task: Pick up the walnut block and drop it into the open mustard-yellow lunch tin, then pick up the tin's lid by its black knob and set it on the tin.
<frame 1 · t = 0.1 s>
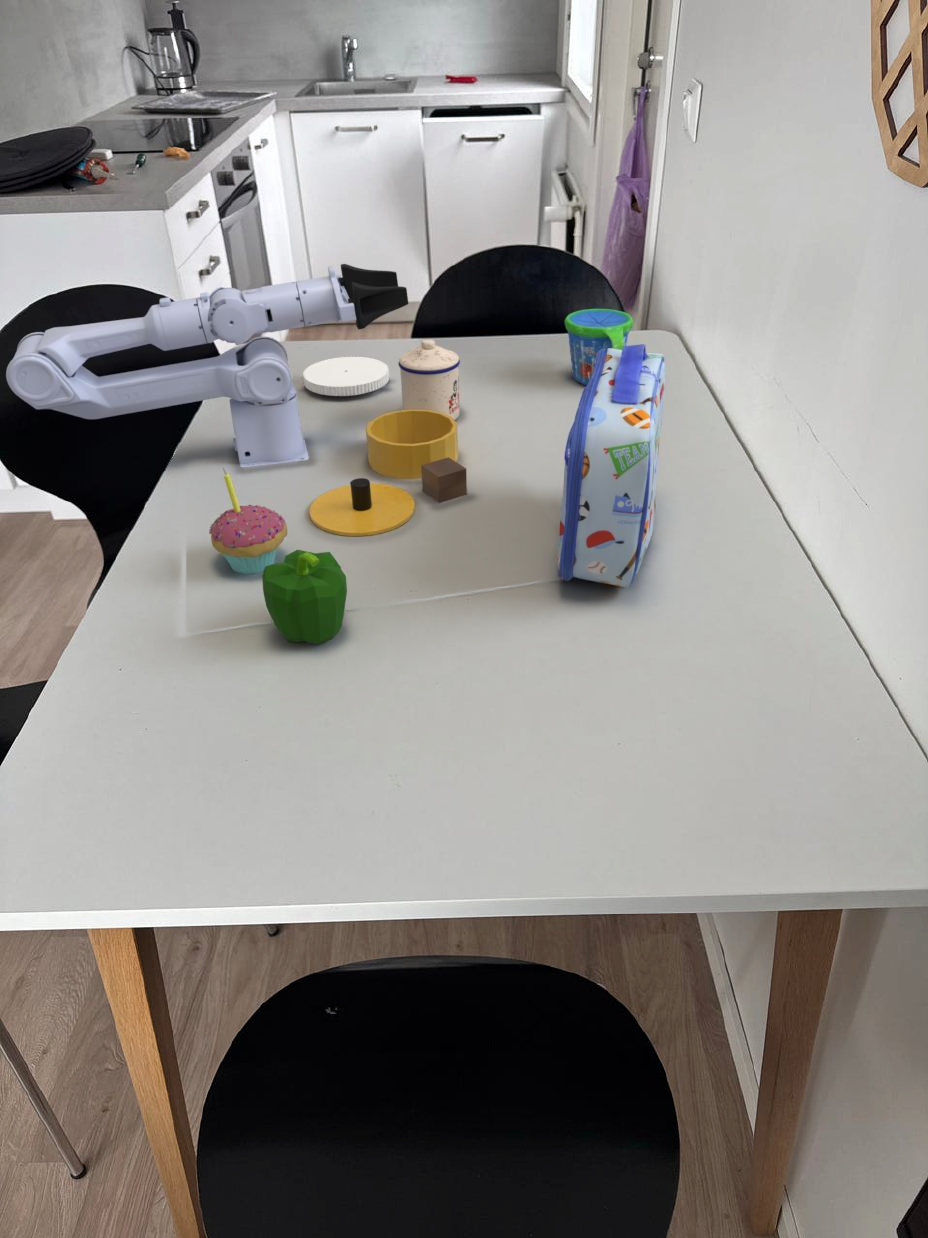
hand: (402, 287, 126), 22 cm above the table, tool horizontal, fingers open, 7 cm apart
plastic lid: (347, 387, 156), on the table
walnut block: (444, 496, 123), on the table
tin lid: (362, 510, 119), point 1 cm above the table
lunch box: (607, 544, 112), on the table
snack cup: (595, 380, 156), on the table
bell pepper: (311, 633, 99), on the table
tin: (413, 462, 131), on the table
cupcake: (254, 567, 110), on the table
teacup with lid: (431, 413, 146), on the table
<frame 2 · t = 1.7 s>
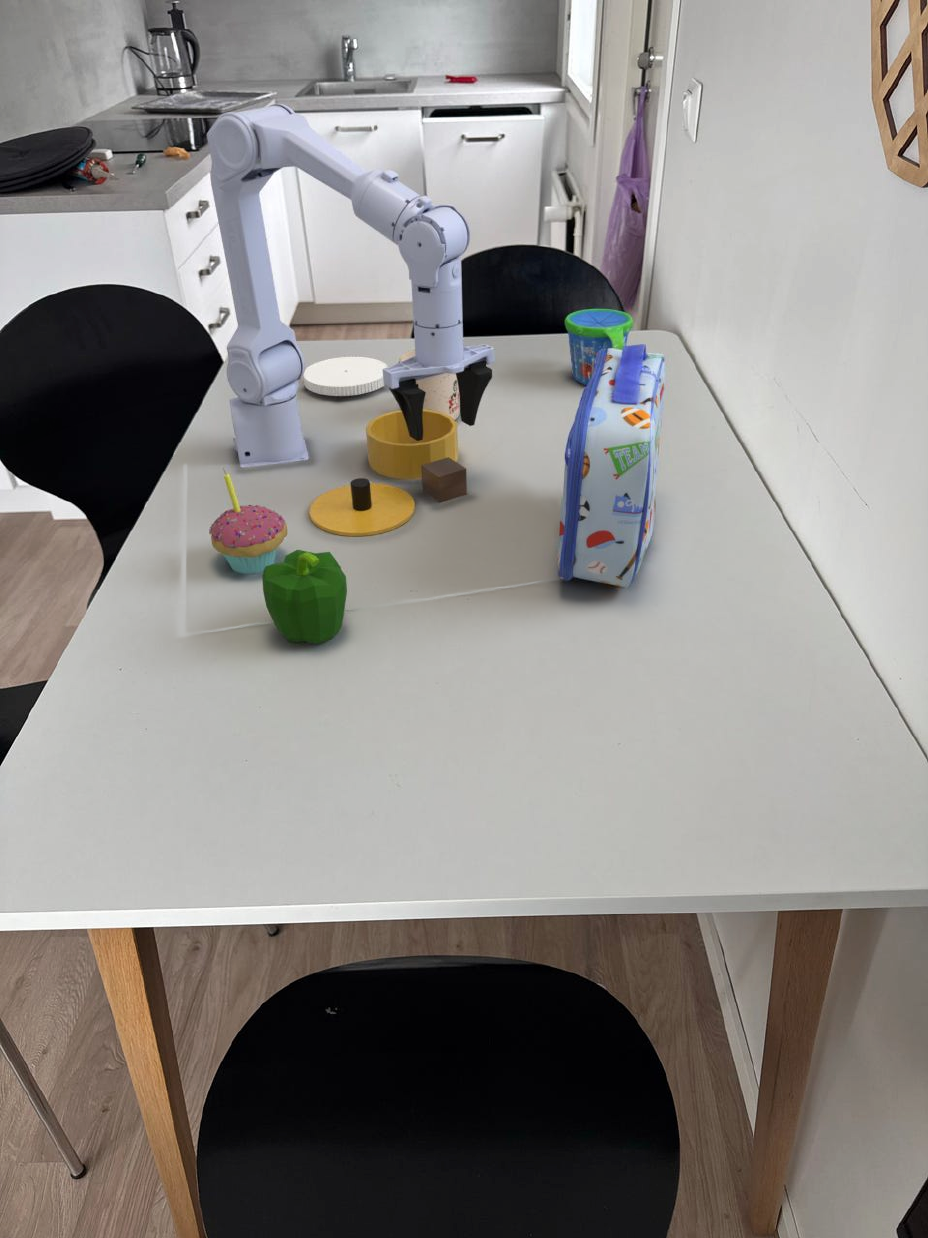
hand: (442, 430, 118), 9 cm above the table, tool pointing down, fingers open, 7 cm apart
nothing on the table moved.
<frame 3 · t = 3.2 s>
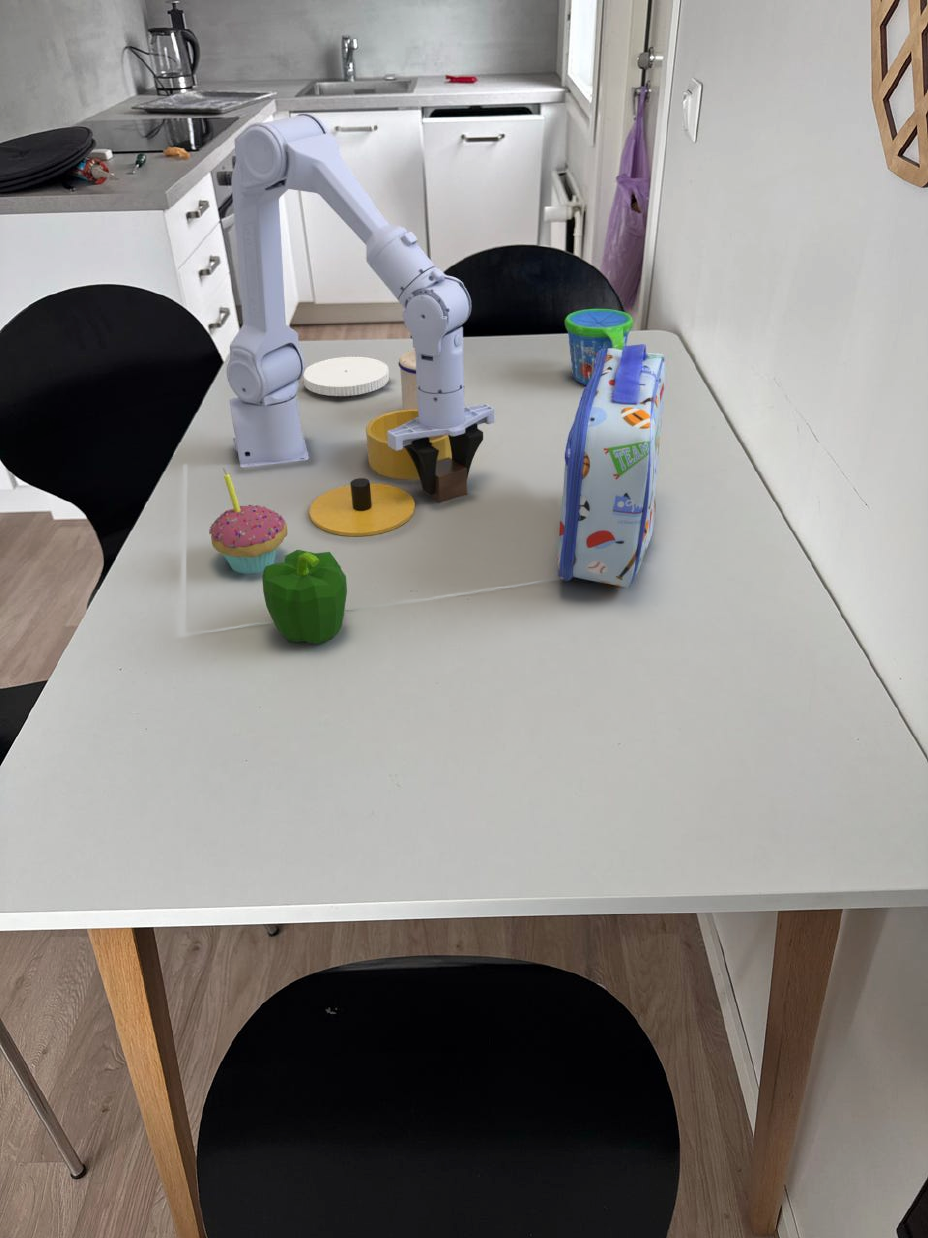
hand: (444, 486, 122), 1 cm above the table, tool pointing down, fingers closed on walnut block, 4 cm apart
walnut block: (444, 496, 123), on the table, touching gripper
everything else where it was.
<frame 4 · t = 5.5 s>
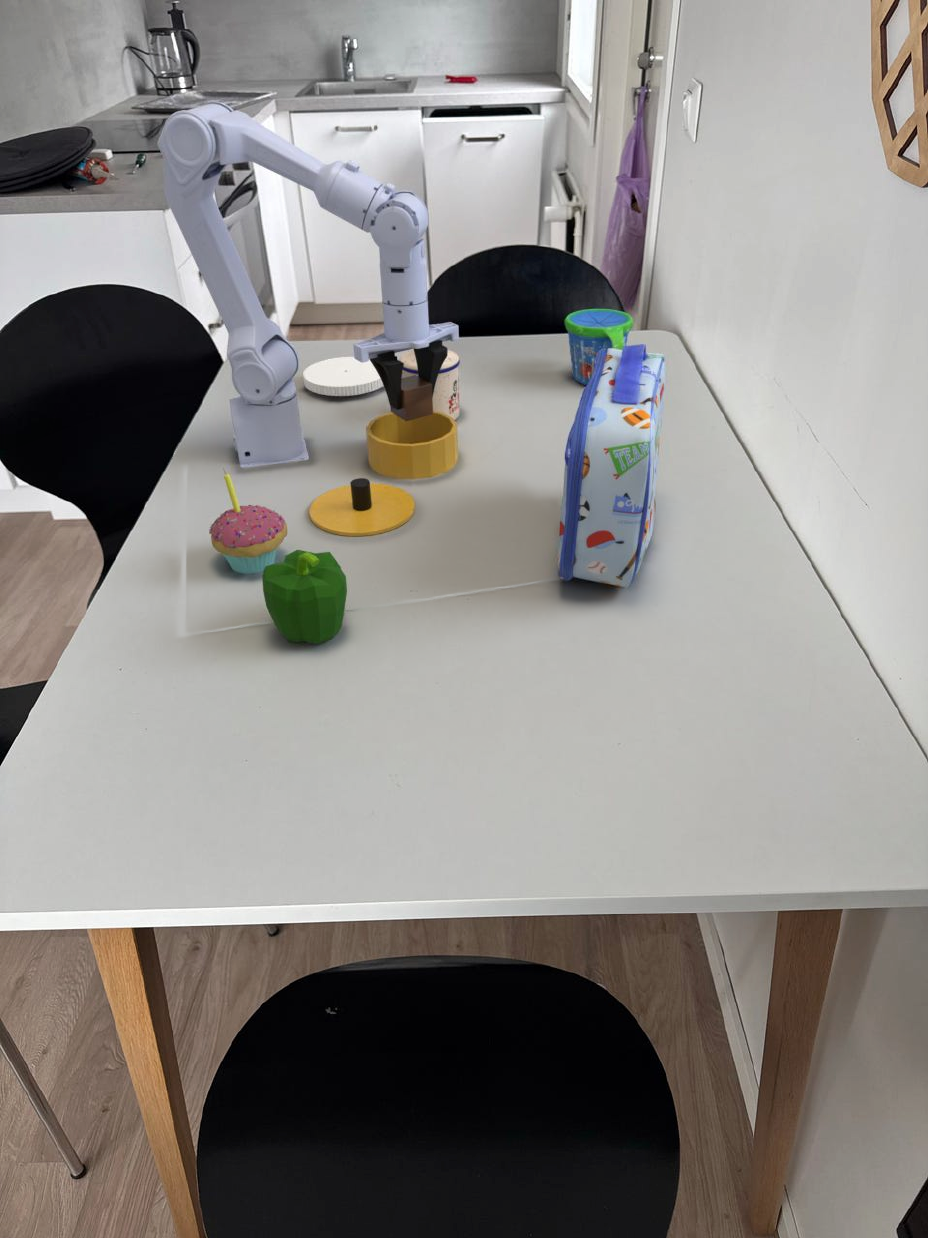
hand: (410, 402, 126), 9 cm above the table, tool pointing down, fingers closed on walnut block, 4 cm apart
walnut block: (411, 412, 127), point 7 cm above the table, touching gripper
everything else where it was.
when the fingers open (2 cm above the table, at t = 7.9 s): walnut block stays where it is, resting on tin.
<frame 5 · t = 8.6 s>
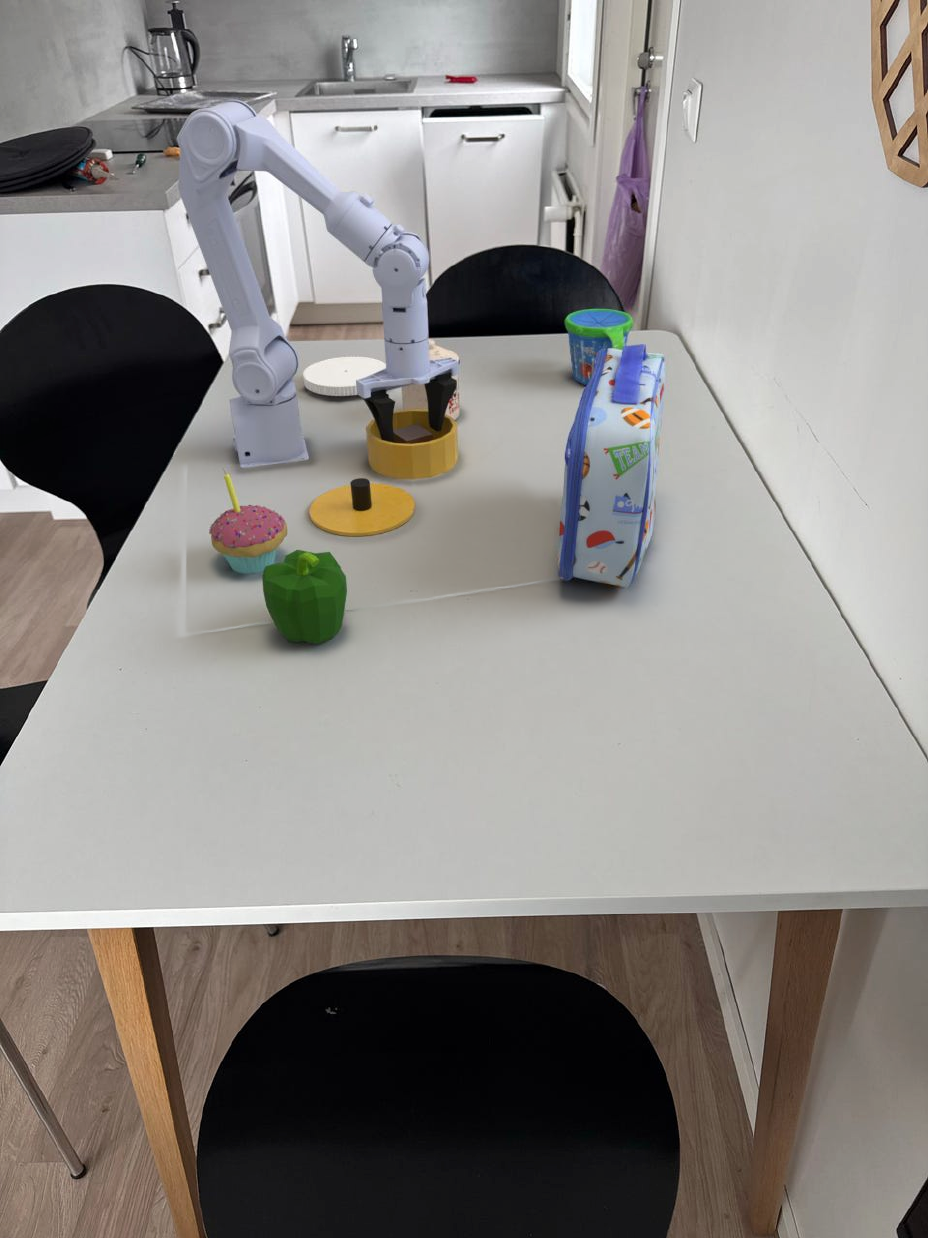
hand: (411, 435, 129), 4 cm above the table, tool pointing down, fingers open, 7 cm apart
walnut block: (413, 460, 131), resting on tin
everything else where it was.
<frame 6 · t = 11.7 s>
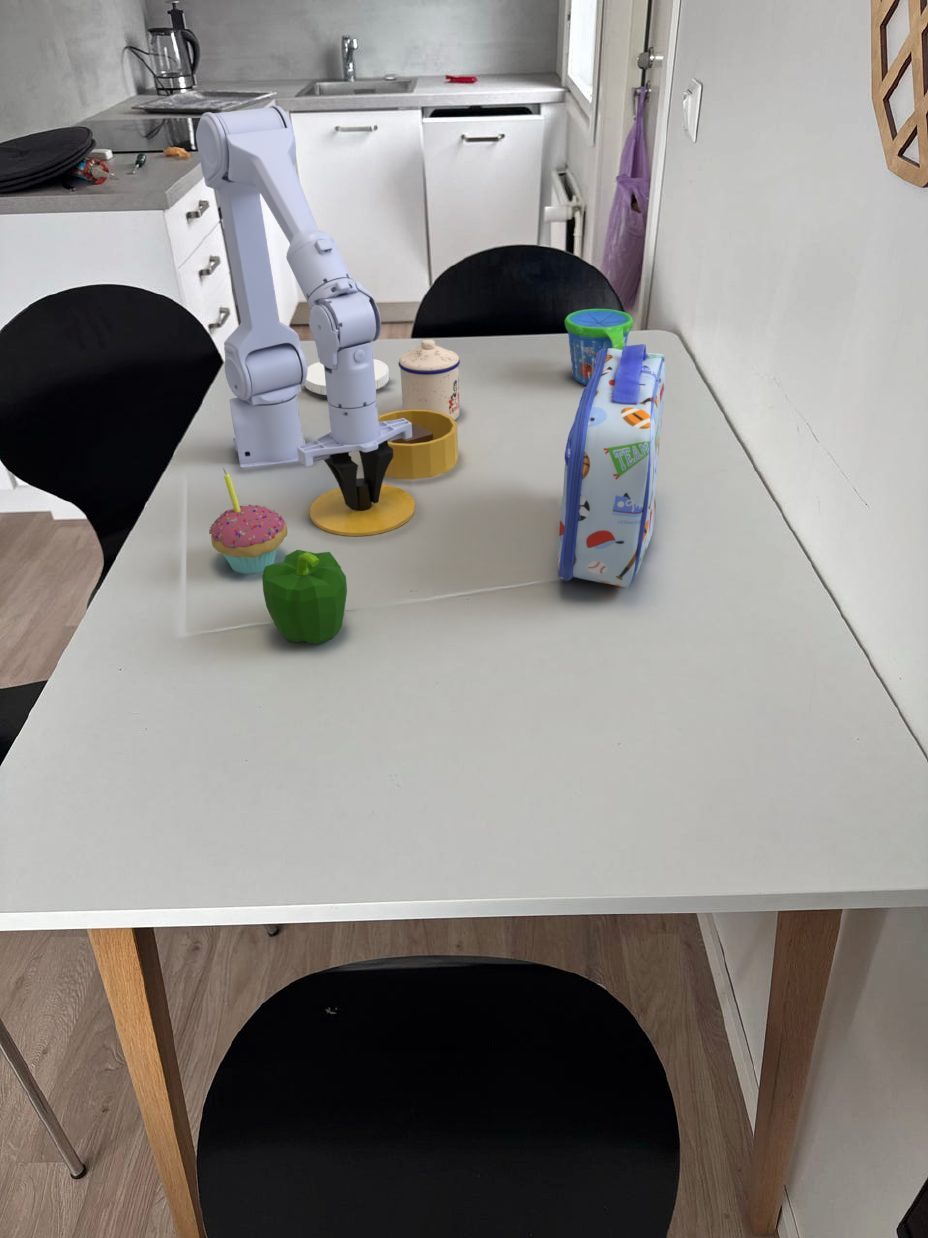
hand: (361, 503, 118), 2 cm above the table, tool pointing down, fingers closed on tin lid, 2 cm apart
tin lid: (362, 510, 119), point 1 cm above the table, touching gripper
everything else where it was.
when the fingers open (6 cm above the table, at t = 15.6 s): tin lid stays where it is, resting on tin.
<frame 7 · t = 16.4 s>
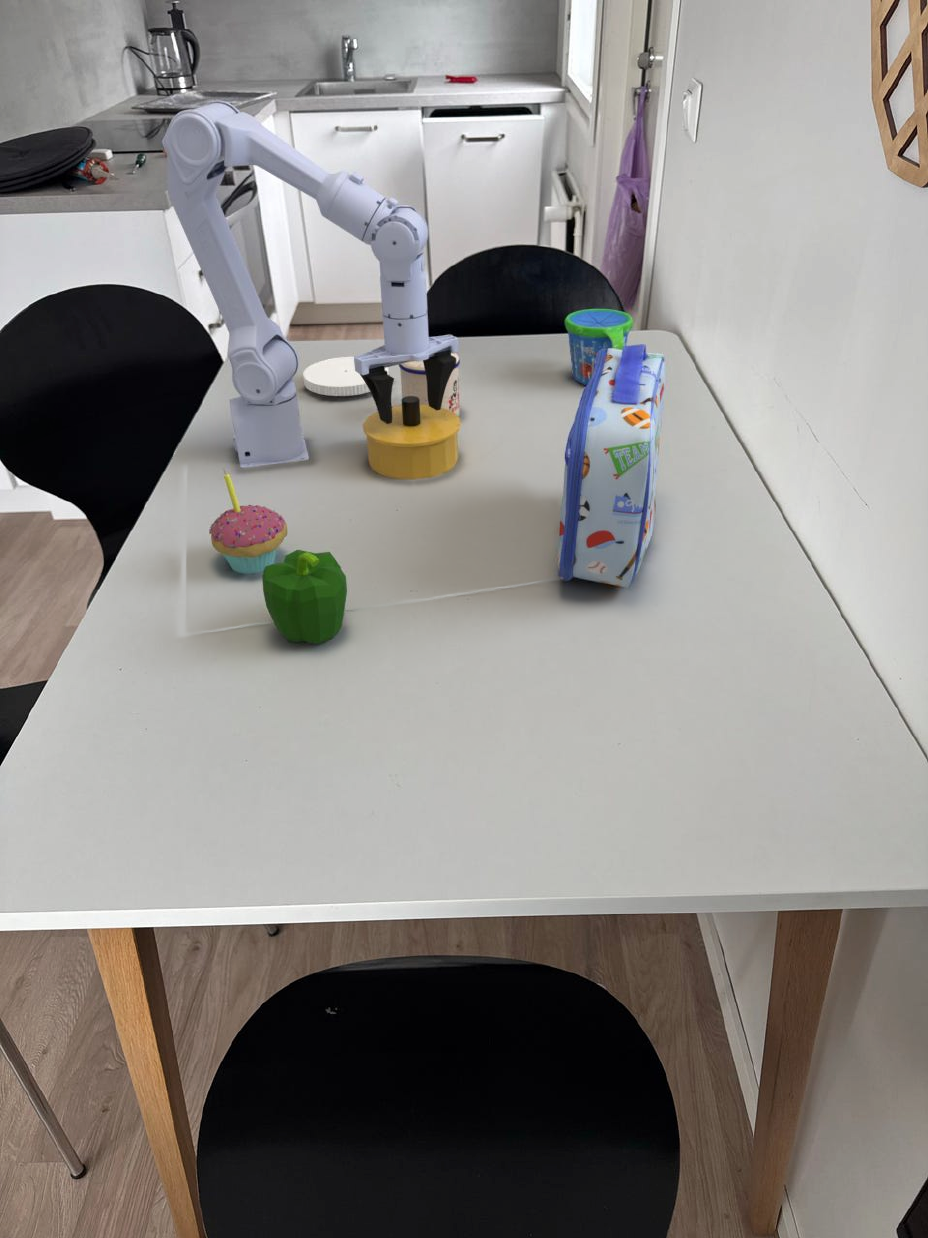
hand: (410, 414, 127), 7 cm above the table, tool pointing down, fingers open, 7 cm apart
tin lid: (411, 426, 128), point 5 cm above the table, touching tin
everything else where it was.
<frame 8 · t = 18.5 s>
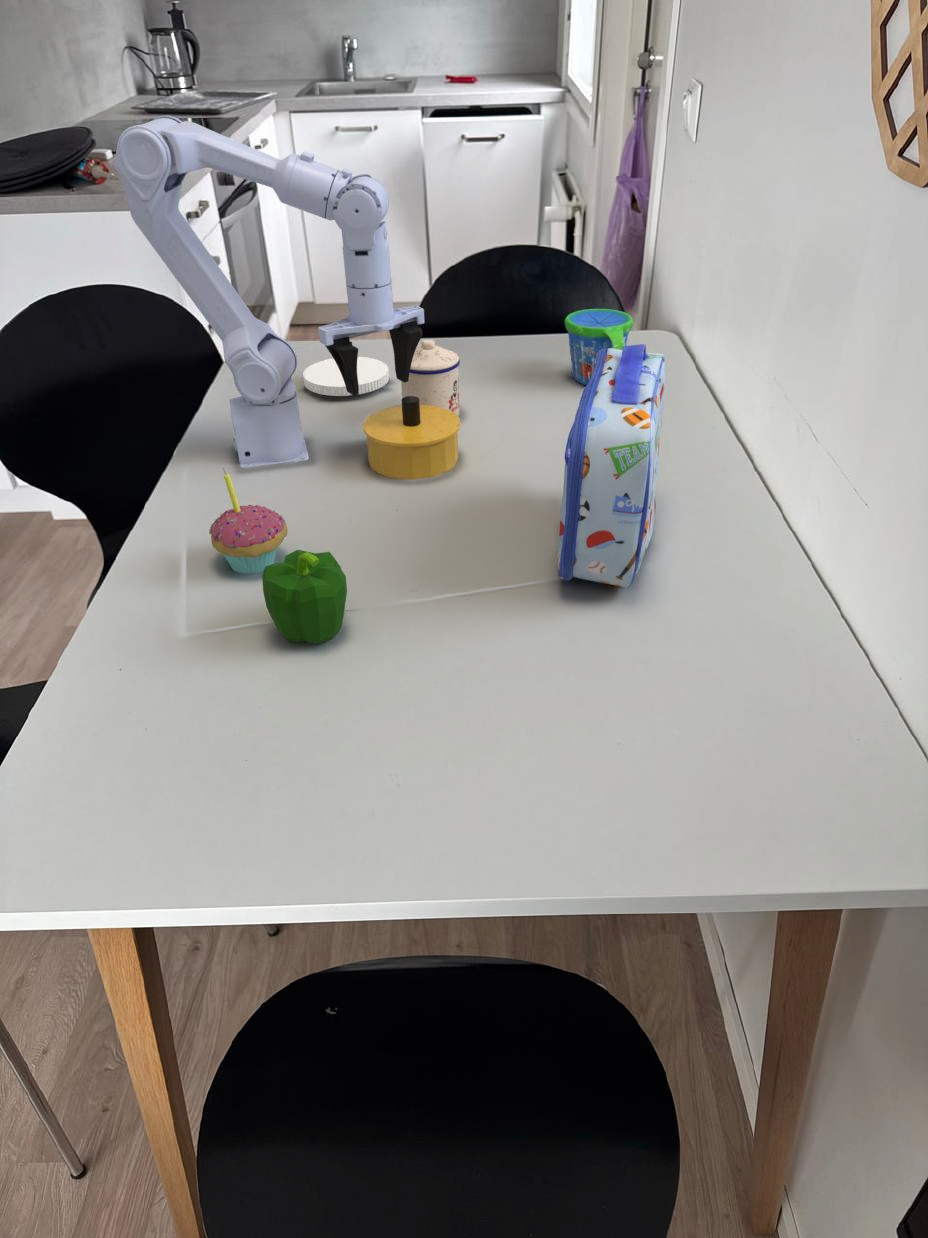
hand: (378, 386, 127), 10 cm above the table, tool pointing down, fingers open, 7 cm apart
nothing on the table moved.
at the end: walnut block inside the target area in the tin (0.0 cm from its centre), point 0.4 cm above the tin's base; tin lid 0.0 cm off-centre on the tin, point 5.4 cm above the tin's base; tin lid tilted 0° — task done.
